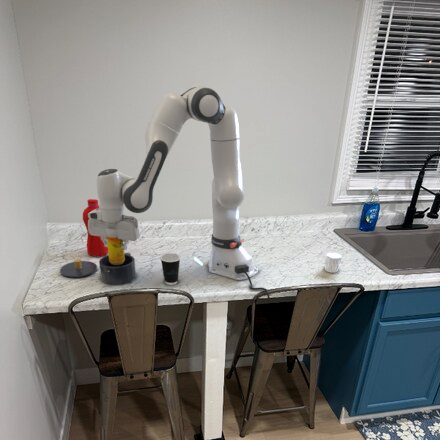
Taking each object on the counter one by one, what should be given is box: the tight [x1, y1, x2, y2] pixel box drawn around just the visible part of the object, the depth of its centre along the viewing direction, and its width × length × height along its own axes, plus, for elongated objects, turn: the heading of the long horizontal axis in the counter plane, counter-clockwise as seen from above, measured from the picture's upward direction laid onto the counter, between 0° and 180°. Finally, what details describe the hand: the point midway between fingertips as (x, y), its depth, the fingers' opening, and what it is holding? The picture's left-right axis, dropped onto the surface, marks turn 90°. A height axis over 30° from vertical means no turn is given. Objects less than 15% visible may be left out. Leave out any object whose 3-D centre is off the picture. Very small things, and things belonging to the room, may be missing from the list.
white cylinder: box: [324, 251, 343, 273], centre depth 175 cm, size 7×7×7 cm
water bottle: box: [82, 198, 109, 258], centre depth 179 cm, size 9×11×25 cm
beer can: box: [106, 228, 125, 265], centre depth 158 cm, size 6×6×15 cm
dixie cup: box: [159, 252, 181, 286], centre depth 159 cm, size 8×8×11 cm
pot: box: [98, 252, 137, 286], centre depth 163 cm, size 14×19×8 cm
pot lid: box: [59, 258, 98, 278], centre depth 167 cm, size 15×15×5 cm
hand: (115, 248), depth 158 cm, fingers closed on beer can, 6 cm apart
